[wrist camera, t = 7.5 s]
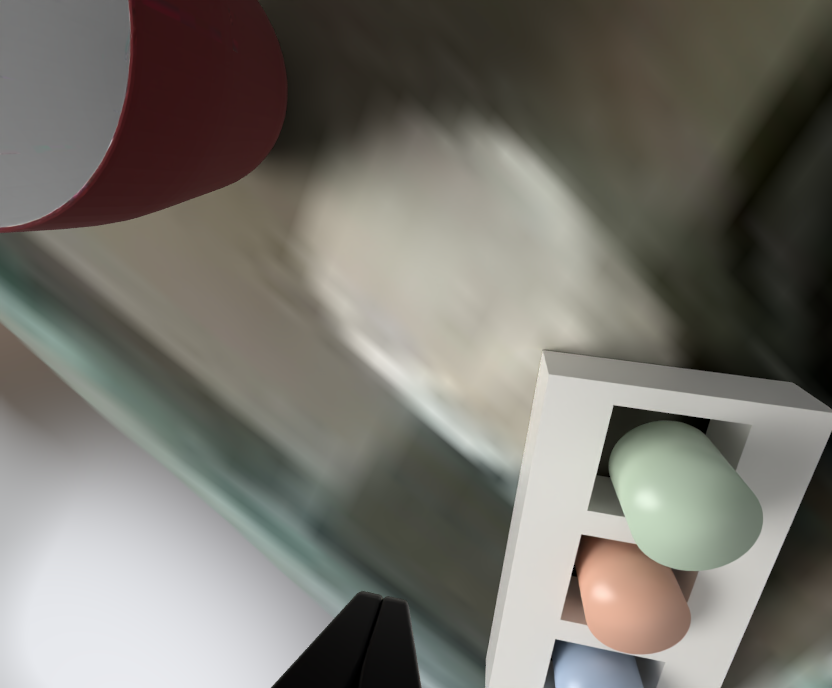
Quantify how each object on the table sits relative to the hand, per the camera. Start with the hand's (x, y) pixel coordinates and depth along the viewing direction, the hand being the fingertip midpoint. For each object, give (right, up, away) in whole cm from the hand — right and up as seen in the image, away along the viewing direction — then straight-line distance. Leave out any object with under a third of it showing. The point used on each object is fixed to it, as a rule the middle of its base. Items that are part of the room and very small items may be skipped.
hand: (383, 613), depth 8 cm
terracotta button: (+9, -4, +12) cm, 16 cm away
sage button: (+9, 0, +9) cm, 13 cm away
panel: (+9, -4, +13) cm, 16 cm away
